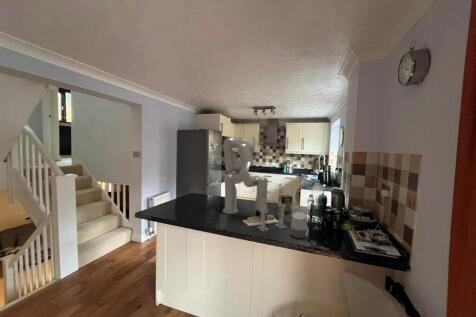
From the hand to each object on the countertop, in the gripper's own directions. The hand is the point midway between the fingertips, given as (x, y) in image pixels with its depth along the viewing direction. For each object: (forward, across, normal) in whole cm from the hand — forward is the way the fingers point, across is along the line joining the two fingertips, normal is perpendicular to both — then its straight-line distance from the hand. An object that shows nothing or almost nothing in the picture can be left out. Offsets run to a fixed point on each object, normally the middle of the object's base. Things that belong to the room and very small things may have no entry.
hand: (261, 218), depth 148 cm
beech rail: (+2, 0, 0) cm, 2 cm away
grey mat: (+2, 0, 0) cm, 2 cm away
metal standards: (+2, +12, +2) cm, 12 cm away
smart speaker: (+2, +29, +10) cm, 31 cm away
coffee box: (+2, -4, +23) cm, 23 cm away
